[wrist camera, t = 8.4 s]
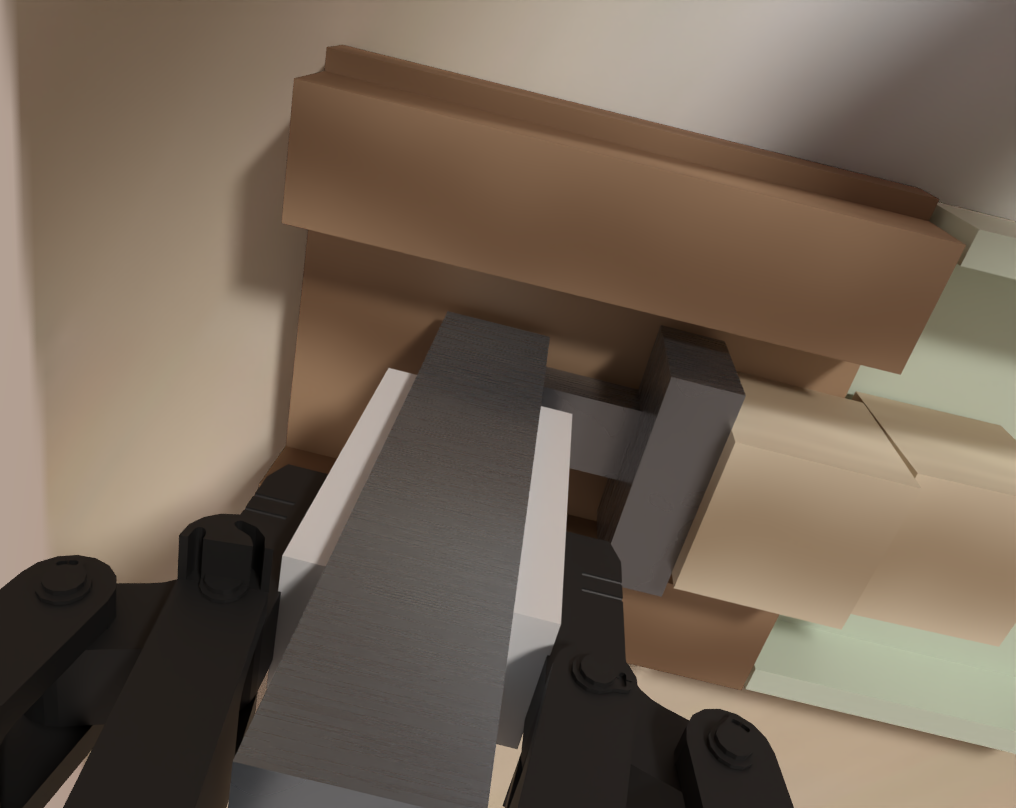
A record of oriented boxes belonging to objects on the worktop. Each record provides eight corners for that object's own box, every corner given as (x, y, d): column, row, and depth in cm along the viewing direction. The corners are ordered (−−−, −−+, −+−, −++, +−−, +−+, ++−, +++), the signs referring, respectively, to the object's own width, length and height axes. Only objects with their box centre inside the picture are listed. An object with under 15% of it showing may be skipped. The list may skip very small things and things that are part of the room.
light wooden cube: (855, 390, 20) (917, 473, 17) (1000, 425, 21) (1092, 513, 17) (795, 514, 22) (840, 611, 19) (929, 544, 22) (999, 646, 19)
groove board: (342, 44, 18) (296, 51, 16) (919, 188, 19) (978, 221, 16) (289, 520, 25) (249, 586, 22) (718, 623, 25) (735, 702, 22)
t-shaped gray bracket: (455, 273, 19) (238, 691, 7) (724, 341, 19) (925, 858, 8) (416, 465, 22) (209, 998, 10) (653, 523, 22) (721, 1117, 10)
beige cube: (710, 364, 20) (735, 442, 16) (863, 402, 20) (921, 488, 16) (661, 493, 22) (673, 588, 18) (801, 528, 22) (841, 629, 18)
